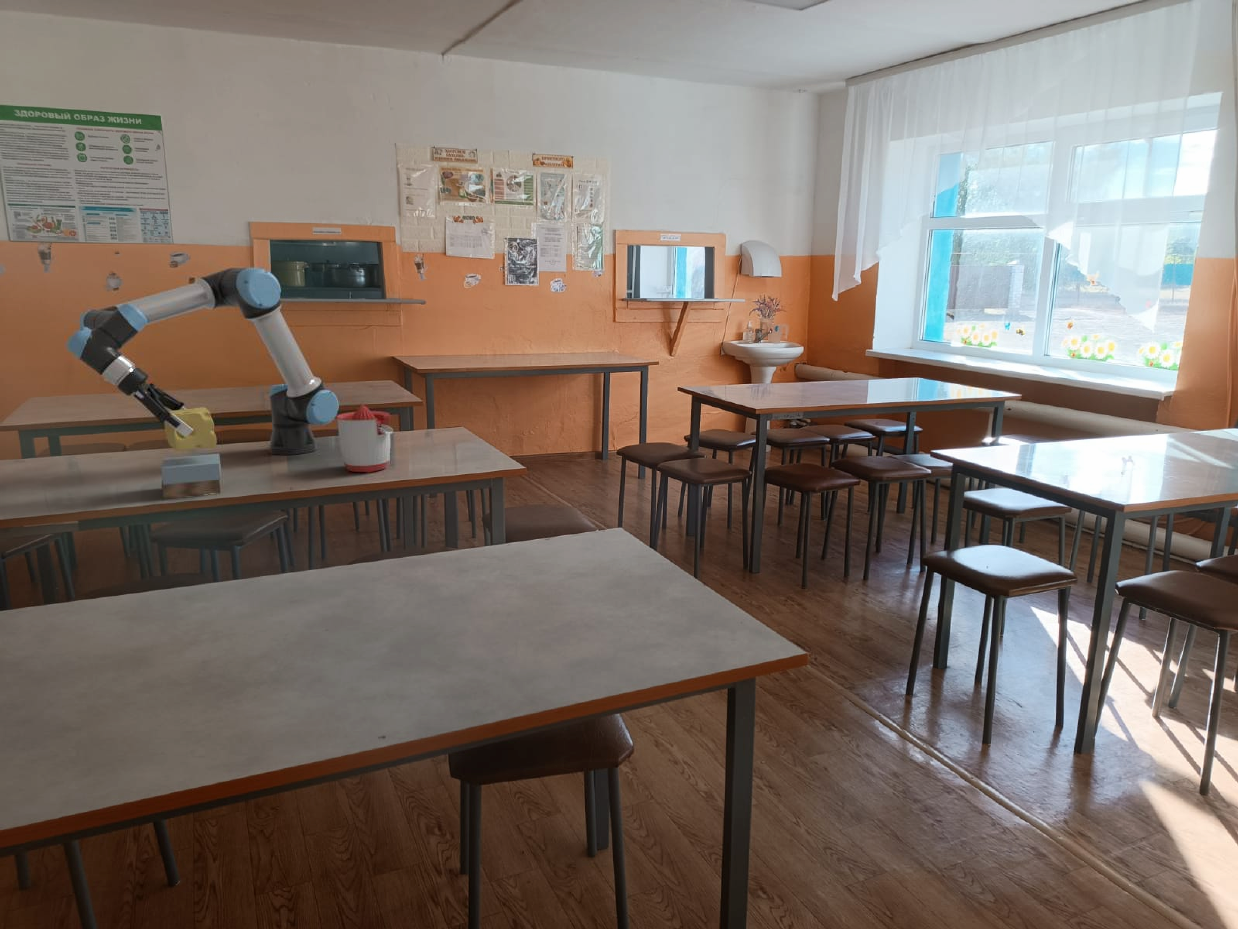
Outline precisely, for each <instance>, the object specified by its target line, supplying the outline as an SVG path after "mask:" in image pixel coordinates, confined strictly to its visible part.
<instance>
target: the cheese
mask: <svg viewBox="0 0 1238 929" xmlns="http://www.w3.org/2000/svg"><path fill="white" fill-rule="evenodd" d="M168 411H169V412H170V414H171V415H172V414H174V415H175V416H176V417H178V418H179V419H180V420H182V421H183V422H184V423H185V424H187V425H188V426H189V427H191V428H192V429H193V431H192V432H191V433H190V434H189V435H188V436H187V437H184V436H183V435H182V434H181V433H179V432H178V431H177V430H175V429H174V428H173V427H171V426H170V425H169V424H168V423H166V422H164V423H163V424H164V431H165V436H166V440H167V442H168V445H169V446H170V447H171V448H173V449H174V450H175V451H177V452H178V451H179V452H180V451H186V450H188V451H189V450H194V449H198V448H201V449H206V448H216V447H217V442H218V441H217V436H216V434H215V423H214V420H213V418H212V415H211V412H210V411H209V410H208V408H206V407H204V406H200V407H193V408H186V410H175V411H172V410H168ZM171 415H170V416H171ZM165 421H166V420H165Z"/></svg>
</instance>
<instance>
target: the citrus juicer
mask: <svg viewBox="0 0 1238 929" xmlns="http://www.w3.org/2000/svg"><path fill="white" fill-rule="evenodd" d="M336 419H337V427H338V430H337V431H338V444H339V450H340V453H341V454H340V455H341V458H342V460H343V464H344V465H345V468H346V470H347V471H349V472H353V473H355V472H356V473H368V474H369V473H373V472H376V471H381V470H383V469H386V468H387V466H388V463H389V458H390V454H391V453H390V451H391V435H392V434H393V433H394V430H393V428H392V427H391V426H390V413H389V412H385V411H376V410H373V411H372V410H370V409H369V408H368V407H367V406H365V405H364V404H362V405H360V406H359V407H358V408H357V409H356V410H355V411H351V412H345V413H341V414H337V415H336Z"/></svg>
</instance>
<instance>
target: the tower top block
mask: <svg viewBox="0 0 1238 929" xmlns="http://www.w3.org/2000/svg"><path fill="white" fill-rule="evenodd" d="M160 469H161V477H162V478H161V480H162V479H163V485H166V484H177V483H188V482H198V481H209V480H219V481H220V480H221V479H222V477H221V476H222V475H221V474H222V467H221V458H220V453H212V454H211V453H210V454H199V455H188V456H175V457H164V458H163V461H162V465H161V468H160Z"/></svg>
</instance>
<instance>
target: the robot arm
mask: <svg viewBox="0 0 1238 929" xmlns="http://www.w3.org/2000/svg"><path fill="white" fill-rule="evenodd" d="M281 293H282V289H281V285H280V282H279V280H278V278H276V276H275V275H274V274H273V273H272V272H270V271H268V270H266V269H263V268H259V267H253V266H252V267H243V268H242V267H240V268H239V267H231V268H226V269H223V270H220V271H217V272H214V273H211V274H209V275H206V276H202V277H200V278H199V277H198V278H197V279H195V280H194V283H191V284H187V285H184V286H179V287H176V288H172V289H169V290H165V291H162V292H158V293H154V294H151V295H147V296H144V297H140V298H137V299H132V300H130V301H126V302H123V303H119V304H115V305H113V306H109V307H106V308H101V309H91V310H87V311H84V312H83V313H82V314H81V316H79V321H78V325H79V330H77V331H76V332H74V334H73V335H72V336H71V337H70V338H69V339H68V340H67V342H66V346H65V347H66V348H67V350H68V351H69V352H71V353H72V355H73V356H76V358H77V359H78V360H80V361H82V363H84V364H86V365H87V367H90V368H91V369H92V370H93V371H94V372H96V373H97V374H99V375H100V376H101V377H103V381H105V383H106V382H109V383H110V384H112V385H113V386H117V389H118V390H119V391H121V392H122V393H123V394H124V395H126V396H128V397H130V396H133V397H134V398H135V399H136V400H138V401H139V402H140V403H141V404H142V405H143V406H144V407H145V408H146V409H147V410H148V411H149V412H150V413H151V414H152V415H153V416H154V417H155V418H156V419H157V420H158V421H159V422H160V423H161V424H165V423H164V422H166V423H168V424H169V425H170V426H171V427H173V428H174V429H175V430H177V431H178V432H179V433H181V434H182V435H183V436H184V437H187V436H188V435H189V434H190V433H191V432H192V431H193V429H192V428H191V427H189V426H188V425H187V424H185V423H184V422H183V421H182V420H180V419H179V418H178V417H176V416H175V415H174V414H172V415H171V414H170V412H169V411H175V410H186V409H187V408H186V407H185V406H184V405H185V403H184V402H183V401H180V400H179V399H176V398H175V397H173V396H172V395H171V394H169V393H167V392H166V391H164V390H162V389H161V388H160V387H157V385H155V384H154V383H152V382H150V383H147V382H146V381H148V379H149V375H148V374H147V373H146V372H145V371H143V370H142V369H141V368H140V367H136V364H135V363H134V362H132V361H131V360H129V359H128V358H127V357H126V356H125V355H123V354H122V353H121V352H119V351H120V349H122V348H123V347H124V346H125V345H126V344H127V343H128V342H130V341H131V340H132V339H133V338H134V337H135V336H136V335H137V334H139V333H140V332H141V331H142V330H143V329H144V328H145V327H146V326H148V325H151V324H155V323H158V322H162V321H165V320H167V319H168V320H169V319H171V318H175V317H177V316H181V315H184V314H188V313H191V312H194V311H198V310H201V309H207V310H210V311H211V310H213V309H216V308H221V307H222V308H223V307H237V308H239V309H240V312H241V314H242V315H243V317H244V318H245V320H246V321H249V322H250V321H251V322H252V323H253V325H254V327H255V328H256V330H257V332H258V334H259V336H260V338H261V339H262V341H263V343H264V345H265V347H266V348H267V351H268V353H269V354H270V356H271V358H272V360H273V361H274V364H275V365H276V367H277V369H278V372H279V373H280V375H281V376H282V379H283V381H284V382H285V383H283V384H273V385H272V386H270V388H269V399H270V409H271V410H270V411H271V421H272V433H271V437H270V441H269V445H268V447H269V448H268V449H269V453H271V454H273V455H283V456H285V455H286V456H289V455H290V456H291V455H300V454H306V453H311V452H314V451H317V449H318V447H317V441H316V439H315V436H314V434H313V432H312V430H311V429H312V428H311V426H310V425H312V426H326V425H328V424H330V423H331V422H332V421H333V420H334V419H336V418H337V415H338V411H339V407H340V406H339V405H340V404H339V400H338V397H337V395H336V394H335V393H334V392H333V391H331V390H328V389H326V387H325V385H324V383H323V381H322V380H321V378H319V377H317V376H314V375H313V372H312V371H311V369H310V368H311V367H309V365H308V363H307V361H306V359H305V357H304V354H303V353H302V351H301V349H300V347H299V345H298V344H297V342H296V340H295V337H294V335H293V334H292V332H291V330H290V328H289V326H288V324H287V322H286V320H285V318H284V316H283V314H282V313H281V308H282V301H281V300H280V299H281ZM168 409H169V410H168ZM170 415H171V416H170ZM165 420H166V421H165Z"/></svg>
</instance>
